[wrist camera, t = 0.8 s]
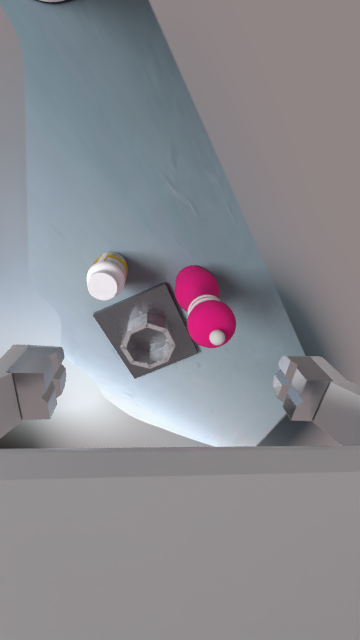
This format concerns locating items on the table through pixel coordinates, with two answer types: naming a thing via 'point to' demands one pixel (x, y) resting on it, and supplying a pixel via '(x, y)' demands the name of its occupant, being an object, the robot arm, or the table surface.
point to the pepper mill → (204, 307)
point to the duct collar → (147, 330)
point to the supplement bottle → (107, 276)
